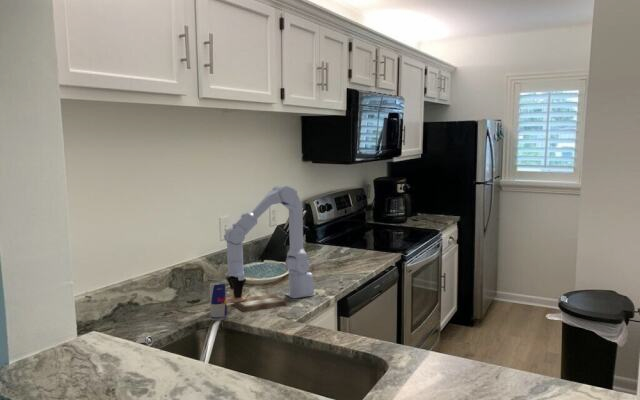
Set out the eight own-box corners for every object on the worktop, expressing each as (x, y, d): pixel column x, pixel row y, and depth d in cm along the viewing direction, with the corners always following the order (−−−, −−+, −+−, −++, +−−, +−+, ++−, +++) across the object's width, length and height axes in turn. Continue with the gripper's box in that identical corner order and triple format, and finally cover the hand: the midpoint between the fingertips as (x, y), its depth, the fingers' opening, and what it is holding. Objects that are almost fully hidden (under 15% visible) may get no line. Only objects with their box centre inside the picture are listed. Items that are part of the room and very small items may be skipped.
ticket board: (273, 297, 192) (272, 293, 192) (286, 305, 179) (286, 300, 179) (233, 303, 185) (232, 298, 185) (244, 311, 172) (243, 306, 172)
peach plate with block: (242, 298, 185) (242, 286, 185) (246, 300, 181) (246, 289, 181) (227, 300, 183) (226, 288, 183) (231, 303, 178) (230, 291, 178)
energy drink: (223, 321, 161) (221, 284, 161) (208, 320, 162) (206, 284, 162) (229, 316, 166) (228, 281, 166) (214, 316, 167) (213, 281, 167)
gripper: (219, 258, 186) (221, 294, 186) (230, 263, 173) (231, 302, 173) (237, 257, 189) (239, 292, 190) (249, 261, 176) (250, 299, 176)
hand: (236, 296), depth 182 cm, fingers closed on peach plate with block, 3 cm apart
